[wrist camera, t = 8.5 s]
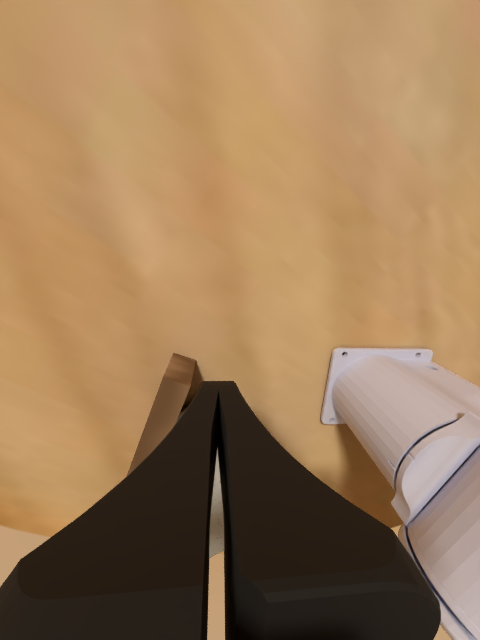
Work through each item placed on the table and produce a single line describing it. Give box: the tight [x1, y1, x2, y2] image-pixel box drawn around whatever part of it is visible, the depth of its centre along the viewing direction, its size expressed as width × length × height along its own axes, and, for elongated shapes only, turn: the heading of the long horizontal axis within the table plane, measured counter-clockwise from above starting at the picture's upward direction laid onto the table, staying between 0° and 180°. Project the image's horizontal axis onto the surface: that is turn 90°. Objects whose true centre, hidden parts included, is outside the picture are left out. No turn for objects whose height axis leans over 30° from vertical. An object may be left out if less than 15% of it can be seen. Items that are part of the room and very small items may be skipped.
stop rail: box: [127, 353, 196, 476], centre depth 21 cm, size 2×20×4 cm, turn 157°
